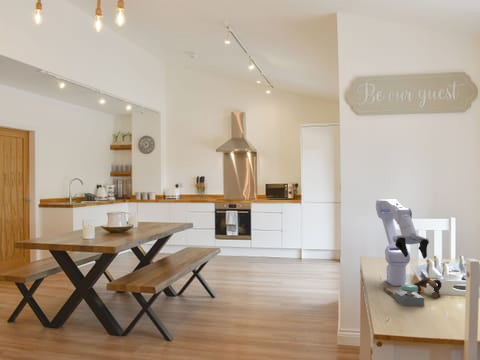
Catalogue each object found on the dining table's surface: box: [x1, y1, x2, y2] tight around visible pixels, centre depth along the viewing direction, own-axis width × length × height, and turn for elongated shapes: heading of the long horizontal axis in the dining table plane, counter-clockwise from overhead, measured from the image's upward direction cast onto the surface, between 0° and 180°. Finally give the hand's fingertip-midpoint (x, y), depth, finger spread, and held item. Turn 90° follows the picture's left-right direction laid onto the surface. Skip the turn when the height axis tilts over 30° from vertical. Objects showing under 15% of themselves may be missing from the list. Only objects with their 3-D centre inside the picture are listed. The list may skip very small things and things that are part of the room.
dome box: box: [394, 291, 425, 307], centre depth 161 cm, size 8×8×3 cm
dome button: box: [400, 283, 418, 296], centre depth 161 cm, size 6×6×4 cm
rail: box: [383, 286, 395, 299], centre depth 171 cm, size 14×1×2 cm, turn 2°
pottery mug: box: [412, 277, 442, 299], centre depth 172 cm, size 12×10×8 cm
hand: (415, 256), depth 164 cm, fingers open, 7 cm apart
